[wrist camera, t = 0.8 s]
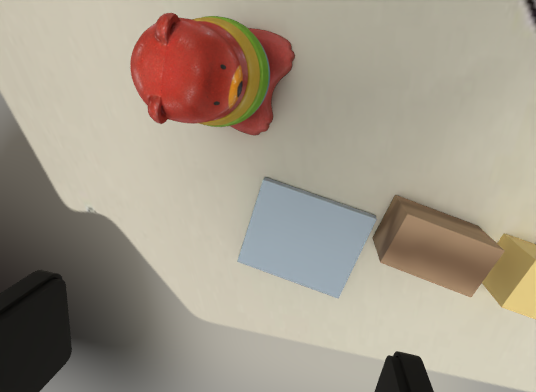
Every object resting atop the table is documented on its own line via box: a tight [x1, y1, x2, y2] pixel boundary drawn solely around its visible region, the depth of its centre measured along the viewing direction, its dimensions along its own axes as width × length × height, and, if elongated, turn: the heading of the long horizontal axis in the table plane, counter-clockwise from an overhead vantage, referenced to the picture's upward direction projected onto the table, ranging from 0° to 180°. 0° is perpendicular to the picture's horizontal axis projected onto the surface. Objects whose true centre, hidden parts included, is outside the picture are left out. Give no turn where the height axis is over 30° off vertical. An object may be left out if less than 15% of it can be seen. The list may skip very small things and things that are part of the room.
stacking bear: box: [131, 13, 295, 135], centre depth 27 cm, size 11×10×18 cm
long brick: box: [373, 195, 505, 297], centre depth 35 cm, size 6×10×6 cm, turn 71°
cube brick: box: [482, 234, 536, 319], centre depth 34 cm, size 6×6×6 cm
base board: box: [237, 177, 377, 298], centre depth 40 cm, size 12×14×1 cm
